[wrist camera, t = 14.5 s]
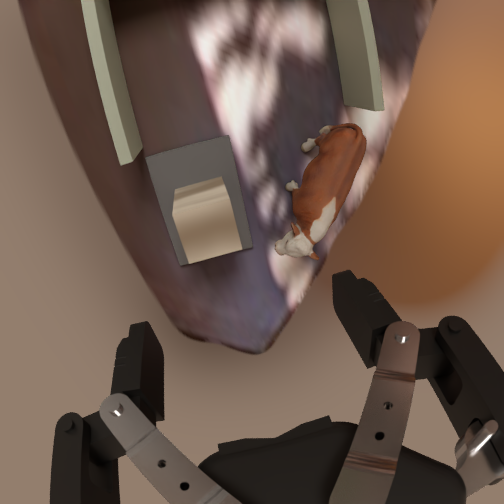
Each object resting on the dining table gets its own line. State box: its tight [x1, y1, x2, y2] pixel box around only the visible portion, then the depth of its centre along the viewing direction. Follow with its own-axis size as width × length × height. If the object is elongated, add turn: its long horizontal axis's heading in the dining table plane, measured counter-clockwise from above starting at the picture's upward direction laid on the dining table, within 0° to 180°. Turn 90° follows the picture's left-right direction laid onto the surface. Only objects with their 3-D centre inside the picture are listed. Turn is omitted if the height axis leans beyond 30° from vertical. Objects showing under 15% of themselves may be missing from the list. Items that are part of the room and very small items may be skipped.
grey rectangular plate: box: [145, 135, 253, 266], centre depth 31 cm, size 12×8×1 cm, turn 10°
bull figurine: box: [275, 123, 366, 260], centre depth 29 cm, size 4×13×8 cm, turn 152°
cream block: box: [172, 176, 242, 264], centre depth 28 cm, size 5×5×6 cm
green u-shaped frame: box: [81, 0, 384, 165], centre depth 21 cm, size 18×22×6 cm
